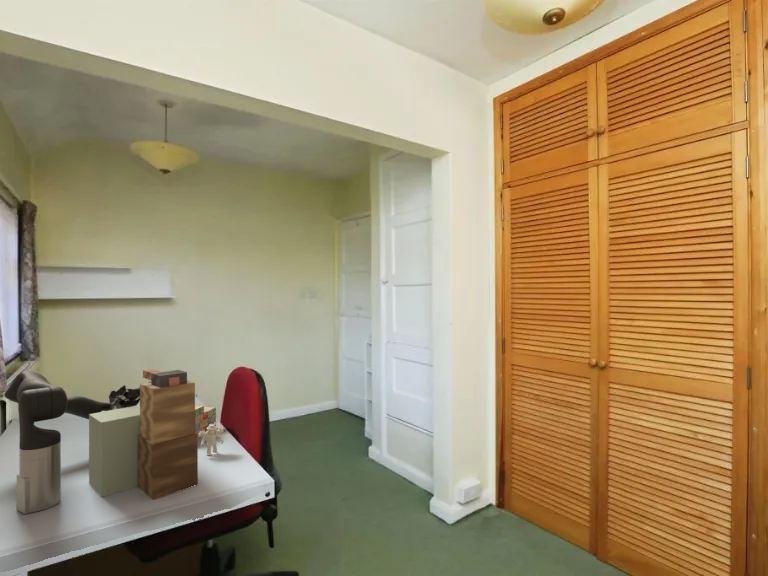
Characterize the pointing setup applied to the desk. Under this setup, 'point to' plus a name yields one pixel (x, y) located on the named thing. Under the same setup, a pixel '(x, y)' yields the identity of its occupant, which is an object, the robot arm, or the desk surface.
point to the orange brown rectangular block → (165, 377)
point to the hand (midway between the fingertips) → (138, 385)
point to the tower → (167, 439)
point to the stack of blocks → (204, 418)
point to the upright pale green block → (114, 450)
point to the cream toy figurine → (211, 437)
